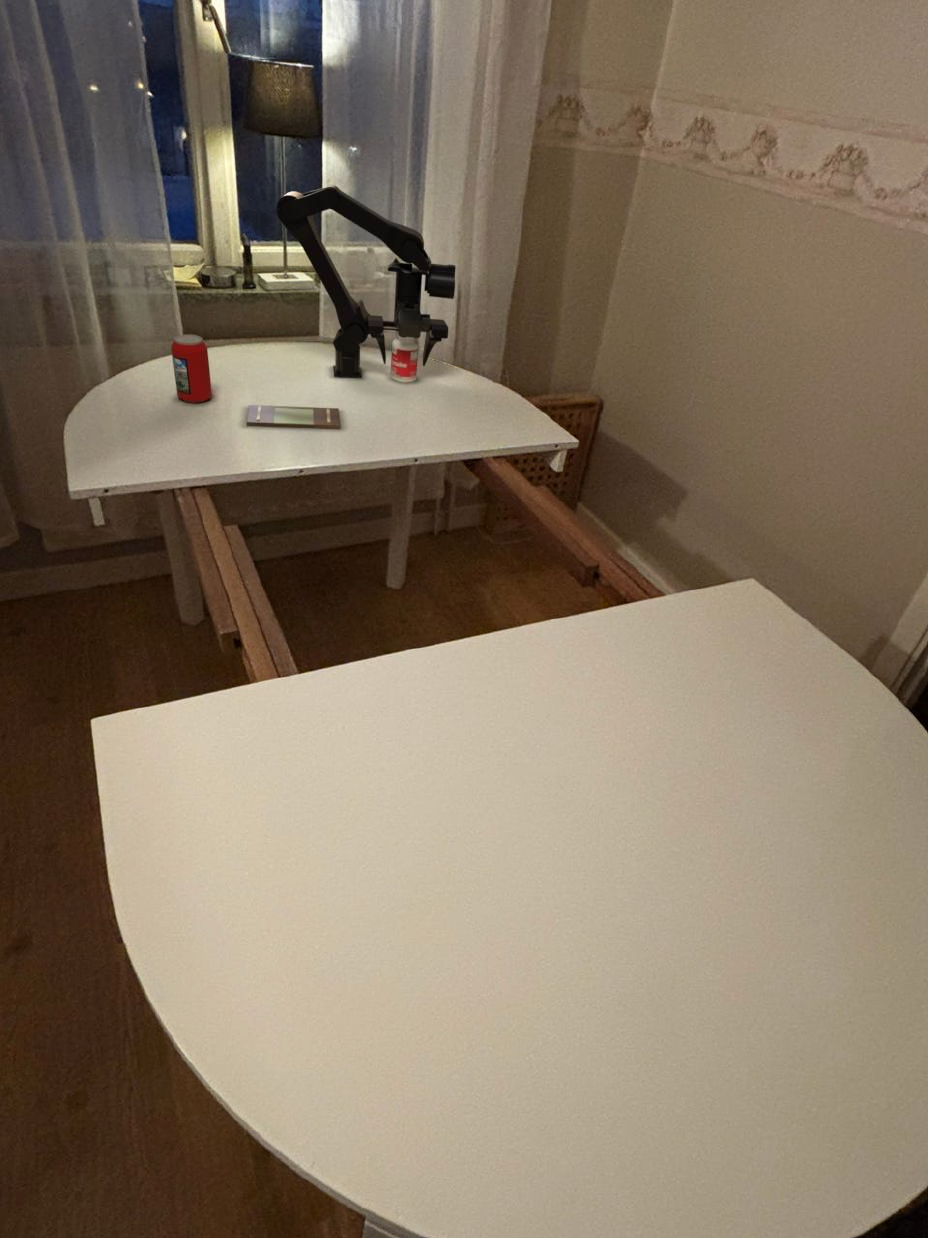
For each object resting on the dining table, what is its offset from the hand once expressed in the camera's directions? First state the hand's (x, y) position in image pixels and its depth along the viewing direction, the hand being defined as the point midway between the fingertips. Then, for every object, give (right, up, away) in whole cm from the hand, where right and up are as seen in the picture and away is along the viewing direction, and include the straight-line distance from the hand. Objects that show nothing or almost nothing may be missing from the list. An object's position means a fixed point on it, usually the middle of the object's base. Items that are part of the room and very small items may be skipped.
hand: (404, 364), depth 173 cm
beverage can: (-41, -14, -21) cm, 49 cm away
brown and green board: (-20, -19, -24) cm, 37 cm away
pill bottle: (0, -3, +2) cm, 4 cm away
